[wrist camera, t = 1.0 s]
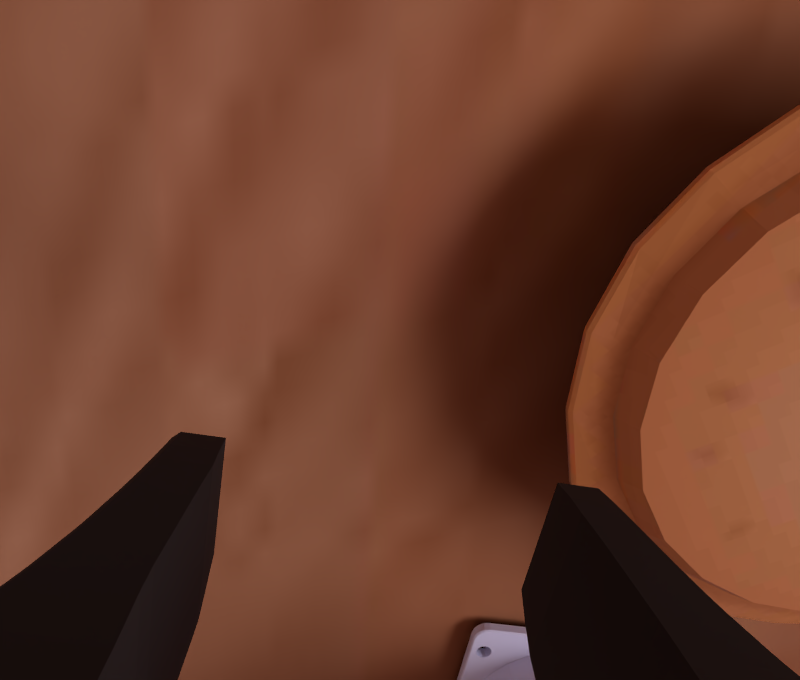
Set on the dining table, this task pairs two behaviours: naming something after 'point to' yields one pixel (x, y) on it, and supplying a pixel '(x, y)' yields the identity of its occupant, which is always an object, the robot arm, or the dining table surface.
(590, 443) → the pie
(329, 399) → the dining table surface
